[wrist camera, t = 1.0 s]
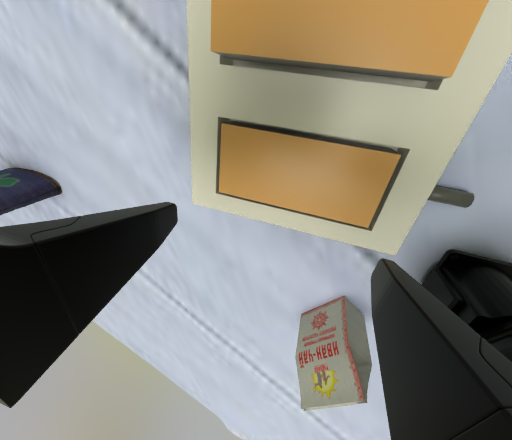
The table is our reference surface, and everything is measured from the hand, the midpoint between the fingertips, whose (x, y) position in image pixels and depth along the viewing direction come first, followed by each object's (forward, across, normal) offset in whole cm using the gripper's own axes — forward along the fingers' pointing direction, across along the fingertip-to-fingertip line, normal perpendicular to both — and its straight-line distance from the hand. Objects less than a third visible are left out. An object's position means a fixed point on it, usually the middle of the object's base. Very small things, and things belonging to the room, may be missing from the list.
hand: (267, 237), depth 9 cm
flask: (+13, +38, +10) cm, 41 cm away
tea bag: (+13, -8, +18) cm, 24 cm away
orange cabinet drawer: (+12, 0, 0) cm, 12 cm away
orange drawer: (+10, 0, -10) cm, 14 cm away
